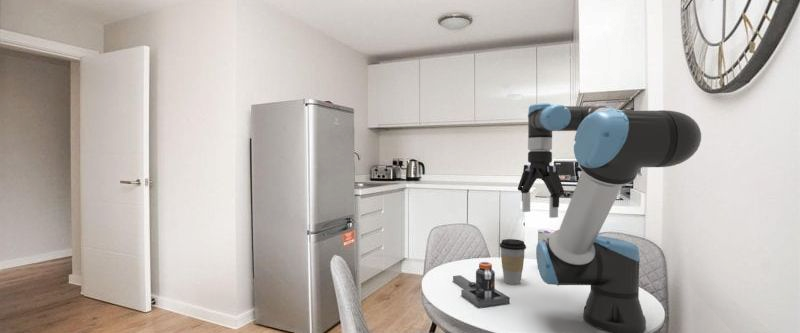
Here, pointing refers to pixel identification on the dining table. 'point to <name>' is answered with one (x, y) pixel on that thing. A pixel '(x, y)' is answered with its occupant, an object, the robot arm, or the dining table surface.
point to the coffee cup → (512, 260)
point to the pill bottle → (485, 281)
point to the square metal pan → (471, 296)
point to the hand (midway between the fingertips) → (539, 214)
